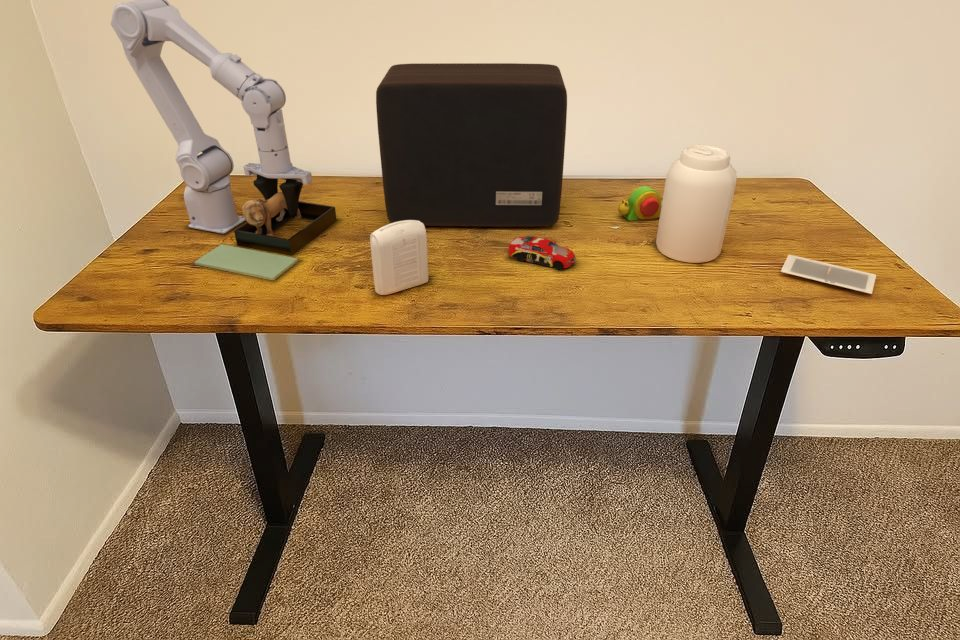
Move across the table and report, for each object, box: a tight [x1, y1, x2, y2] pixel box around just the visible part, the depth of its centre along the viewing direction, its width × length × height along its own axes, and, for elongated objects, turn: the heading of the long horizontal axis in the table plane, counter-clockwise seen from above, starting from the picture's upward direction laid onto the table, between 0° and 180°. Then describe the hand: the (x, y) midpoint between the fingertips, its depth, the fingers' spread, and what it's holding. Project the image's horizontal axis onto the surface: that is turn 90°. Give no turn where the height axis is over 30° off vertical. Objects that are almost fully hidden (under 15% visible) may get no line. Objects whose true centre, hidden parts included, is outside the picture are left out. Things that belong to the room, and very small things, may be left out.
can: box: [655, 144, 738, 264], centre depth 123 cm, size 12×12×20 cm
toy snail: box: [617, 185, 662, 222], centre depth 141 cm, size 6×20×7 cm, turn 108°
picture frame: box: [233, 200, 338, 256], centre depth 135 cm, size 13×17×3 cm
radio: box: [375, 62, 568, 228], centre depth 135 cm, size 36×18×30 cm, turn 88°
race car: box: [507, 235, 576, 271], centre depth 124 cm, size 13×5×4 cm, turn 63°
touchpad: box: [780, 254, 877, 295], centre depth 118 cm, size 8×15×2 cm, turn 58°
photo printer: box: [369, 220, 429, 296], centre depth 114 cm, size 10×4×12 cm, turn 123°
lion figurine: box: [241, 191, 302, 237], centre depth 130 cm, size 15×5×9 cm, turn 157°
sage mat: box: [193, 243, 299, 282], centre depth 125 cm, size 18×8×1 cm, turn 70°
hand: (284, 212), depth 133 cm, fingers closed on lion figurine, 4 cm apart
